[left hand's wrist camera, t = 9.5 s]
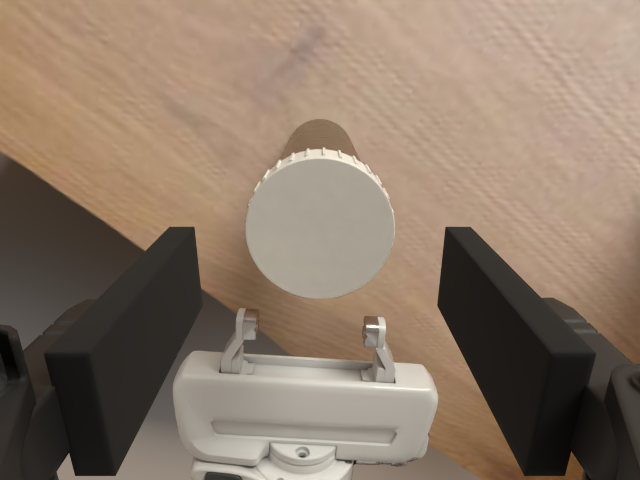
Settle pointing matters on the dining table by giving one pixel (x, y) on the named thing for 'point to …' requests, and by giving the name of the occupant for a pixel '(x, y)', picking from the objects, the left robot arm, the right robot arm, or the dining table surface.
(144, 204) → the dining table surface
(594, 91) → the dining table surface
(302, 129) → the jar
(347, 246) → the lid
